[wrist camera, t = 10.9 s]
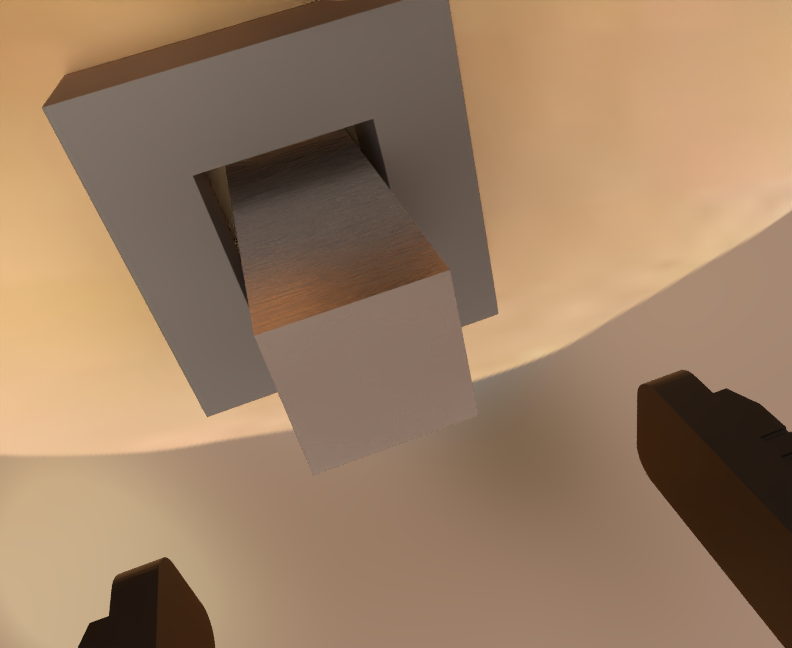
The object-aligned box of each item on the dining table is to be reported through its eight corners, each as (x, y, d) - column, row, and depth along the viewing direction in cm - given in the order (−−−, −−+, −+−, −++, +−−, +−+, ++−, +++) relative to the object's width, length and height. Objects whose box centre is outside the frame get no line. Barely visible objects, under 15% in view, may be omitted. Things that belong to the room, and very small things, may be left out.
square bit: (221, 148, 22) (254, 336, 12) (334, 114, 23) (449, 270, 13) (260, 250, 25) (313, 475, 15) (361, 217, 25) (478, 415, 15)
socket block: (64, 75, 20) (42, 107, 17) (405, -25, 21) (446, -13, 18) (203, 353, 26) (207, 416, 23) (460, 265, 27) (498, 313, 24)
